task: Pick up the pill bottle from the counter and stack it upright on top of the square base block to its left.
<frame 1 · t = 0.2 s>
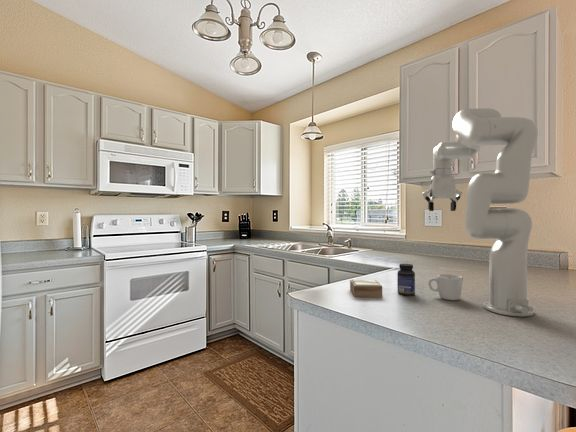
hand: (442, 210, 139), 31 cm above the table, fingers open, 9 cm apart
pill bottle: (406, 294, 114), on the table
base block: (365, 293, 115), on the table
cup: (445, 298, 108), on the table
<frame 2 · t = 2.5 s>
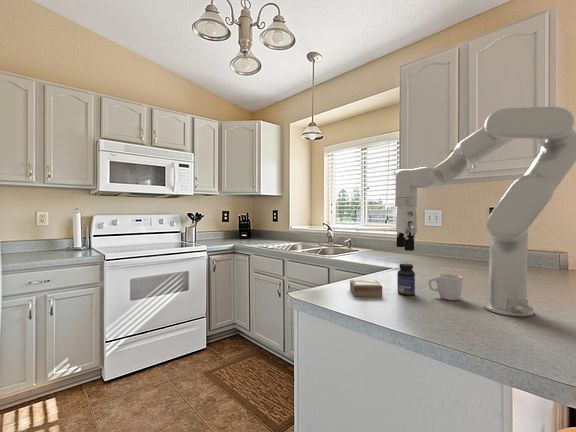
hand: (404, 248, 114), 17 cm above the table, fingers open, 9 cm apart
nothing on the table moved.
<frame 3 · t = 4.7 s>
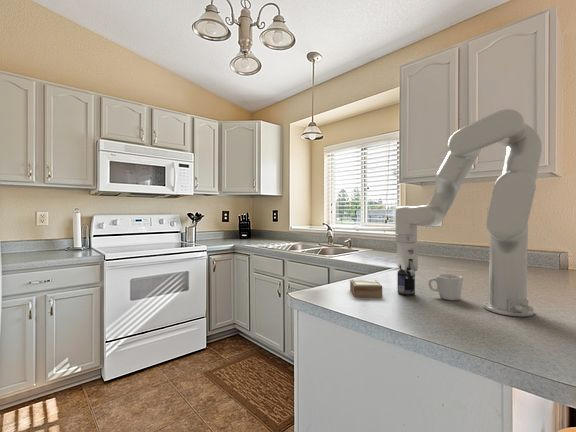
hand: (406, 286, 114), 3 cm above the table, fingers closed on pill bottle, 6 cm apart
pill bottle: (406, 294, 114), on the table, touching gripper
everything else where it was.
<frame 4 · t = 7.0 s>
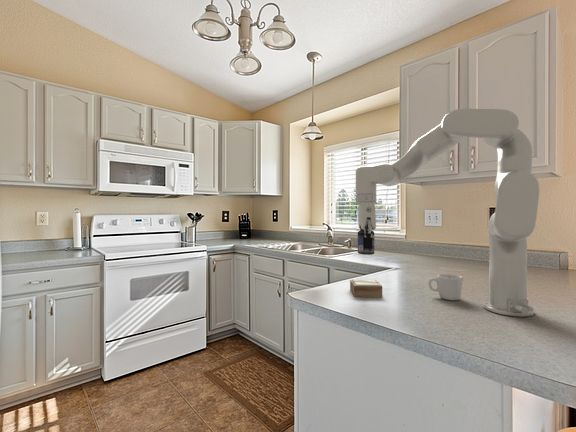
hand: (365, 246, 115), 18 cm above the table, fingers closed on pill bottle, 6 cm apart
pill bottle: (365, 254, 115), point 15 cm above the table, touching gripper
everything else where it was.
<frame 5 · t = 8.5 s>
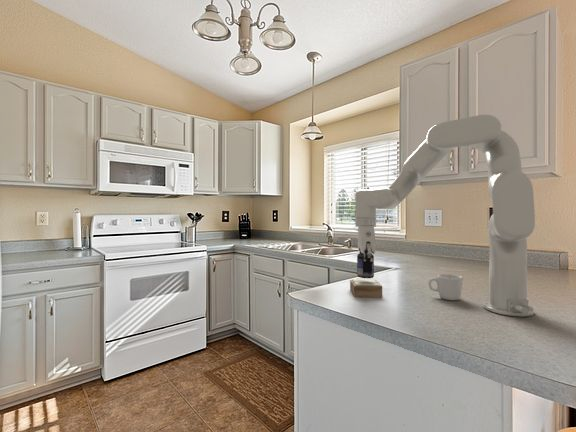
hand: (365, 270, 115), 9 cm above the table, fingers closed on pill bottle, 6 cm apart
pill bottle: (365, 277, 115), point 6 cm above the table, touching gripper
everything else where it was.
when the fingers open (8 cm above the table, at t = 9.6 s): pill bottle stays where it is, resting on base block.
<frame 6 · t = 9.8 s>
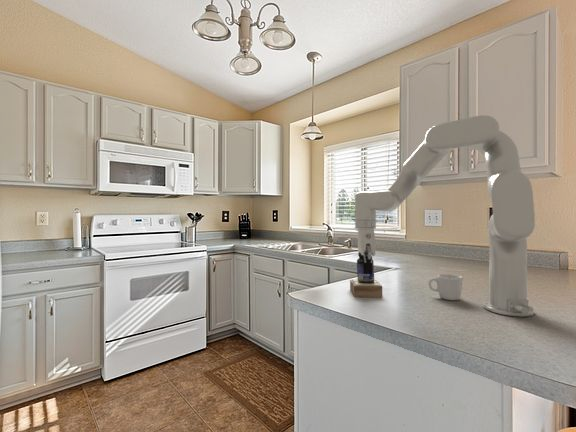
hand: (365, 271, 115), 8 cm above the table, fingers open, 8 cm apart
pill bottle: (366, 282, 115), point 4 cm above the table, touching base block
everything else where it was.
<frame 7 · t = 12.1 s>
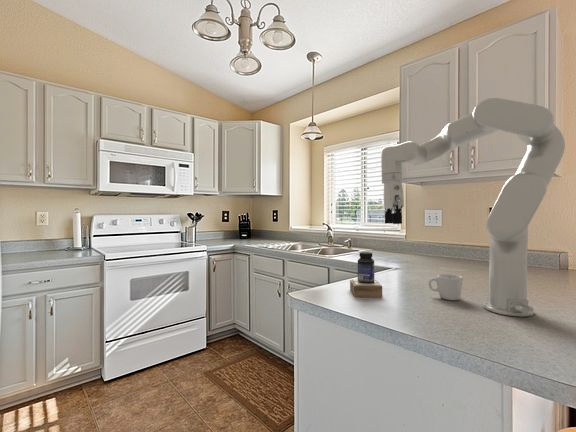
hand: (393, 223, 117), 26 cm above the table, fingers open, 9 cm apart
nothing on the table moved.
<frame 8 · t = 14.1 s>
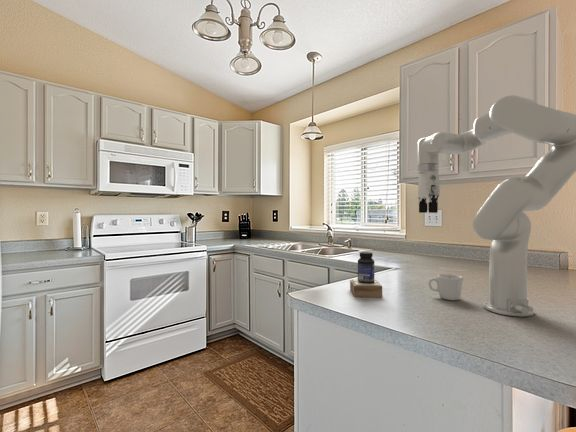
hand: (427, 212, 121), 30 cm above the table, fingers open, 9 cm apart
nothing on the table moved.
at the end: pill bottle inside the target area on the base block (0.2 cm from its centre), point 4.1 cm above the base block's base; pill bottle tilted 0°; the gripper is holding nothing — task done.
